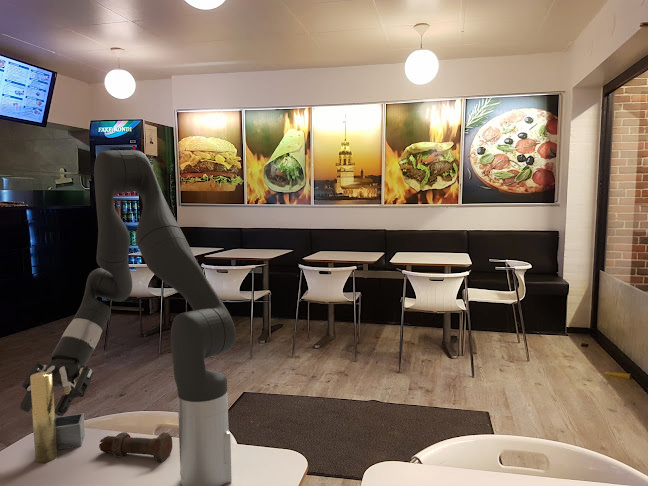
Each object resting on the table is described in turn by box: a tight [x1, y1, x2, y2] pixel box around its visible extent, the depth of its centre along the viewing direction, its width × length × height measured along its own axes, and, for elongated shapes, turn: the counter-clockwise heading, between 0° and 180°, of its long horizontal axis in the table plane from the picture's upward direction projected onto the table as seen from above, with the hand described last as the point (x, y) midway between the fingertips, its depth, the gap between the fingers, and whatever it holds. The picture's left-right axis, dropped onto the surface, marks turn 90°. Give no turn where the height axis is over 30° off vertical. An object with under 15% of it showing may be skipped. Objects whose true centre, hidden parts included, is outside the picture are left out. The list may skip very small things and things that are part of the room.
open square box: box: [55, 412, 86, 451], centre depth 108 cm, size 6×6×5 cm
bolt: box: [98, 431, 173, 463], centre depth 102 cm, size 6×5×15 cm
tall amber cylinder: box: [30, 372, 58, 464], centre depth 101 cm, size 4×4×18 cm
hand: (40, 412), depth 100 cm, fingers open, 8 cm apart
